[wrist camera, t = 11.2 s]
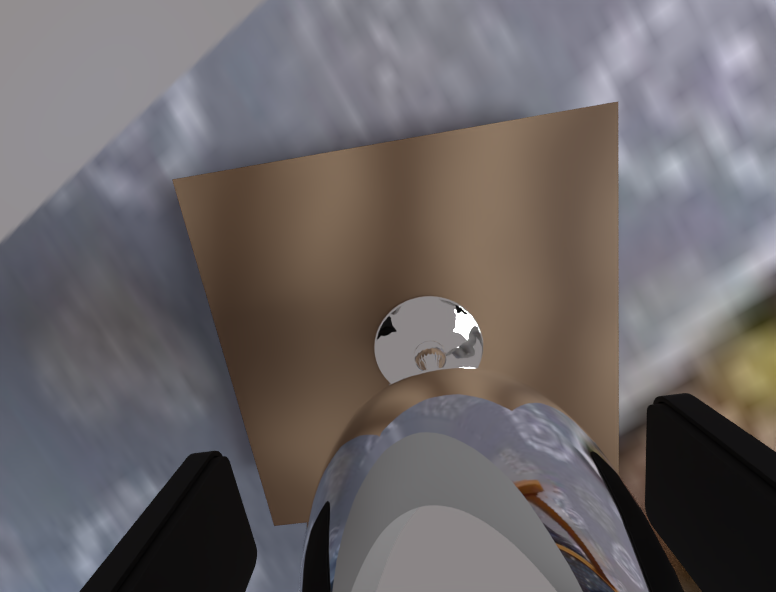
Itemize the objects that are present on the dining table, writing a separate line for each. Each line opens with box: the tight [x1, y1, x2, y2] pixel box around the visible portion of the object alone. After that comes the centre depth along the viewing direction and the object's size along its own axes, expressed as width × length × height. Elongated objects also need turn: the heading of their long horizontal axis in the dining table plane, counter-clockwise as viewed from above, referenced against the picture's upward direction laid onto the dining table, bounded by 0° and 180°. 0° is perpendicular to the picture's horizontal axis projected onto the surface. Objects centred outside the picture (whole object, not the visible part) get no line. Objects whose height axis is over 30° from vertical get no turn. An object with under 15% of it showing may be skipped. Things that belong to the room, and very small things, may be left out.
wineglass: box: [299, 296, 684, 592], centre depth 10 cm, size 6×6×12 cm
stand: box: [173, 102, 619, 526], centre depth 18 cm, size 16×16×4 cm
